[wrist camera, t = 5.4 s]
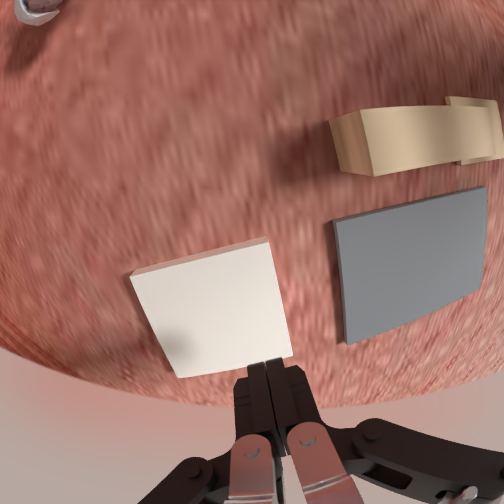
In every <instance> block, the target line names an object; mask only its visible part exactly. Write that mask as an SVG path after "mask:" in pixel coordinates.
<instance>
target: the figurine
mask: <svg viewBox="0 0 504 504" xmlns="http://www.w3.org/2000/svg"><path fill="white" fill-rule="evenodd" d="M63 1H64V0H15V14H16V17H17V19H18V21H20V22H23V23H26V24H29V25H34V26H39V25H42V24H44V23H46V22H48V21H49V20H51V19H52V18H54V17H55V16H56V15H57V14H58V13H59V12H60V10H59V9H58V8H56V7H58V6H59V5H60V4H61V3H62V2H63Z"/></svg>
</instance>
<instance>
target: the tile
mask: <svg viewBox="0 0 504 504" xmlns="http://www.w3.org/2000/svg"><path fill="white" fill-rule="evenodd" d="M130 280H131V282H132V284H133V287H134V289H135V292H136V294H137V296H138V299H139V301H140V303H141V305H142V308H143V310H144V312H145V314H146V316H147V318H148V321H149V323H150V325H151V327H152V329H153V331H154V333H155V335H156V337H157V339H158V341H159V343H160V345H161V347H162V349H163V351H164V353H165V355H166V357H167V358H168V360H169V362H170V364H171V366H172V368H173V370H174V371H175V373H176V375H177V377H178V378H184V377H191V376H198V375H204V374H210V373H216V372H222V371H227V370H232V369H237V368H242V367H247V365H249V364H254V363H258V362H262V361H264V363H265V361H266V360H270V359H274V358H278V357H282V358H286V357H290V356H293V353H292V348H291V343H290V338H289V333H288V328H287V324H286V319H285V314H284V309H283V305H282V300H281V295H280V291H279V286H278V282H277V277H276V272H275V268H274V263H273V259H272V254H271V250H270V245H269V241H268V239H267V237H266V236H264V237H260V238H256V239H252V240H248V241H244V242H240V243H236V244H232V245H228V246H224V247H220V248H216V249H212V250H209V251H205V252H201V253H197V254H193V255H189V256H185V257H181V258H177V259H174V260H170V261H166V262H162V263H158V264H154V265H151V266H147V267H143V268H139V269H135V270H134V272H133V273H132V274H131V276H130Z"/></svg>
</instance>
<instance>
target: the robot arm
mask: <svg viewBox="0 0 504 504" xmlns="http://www.w3.org/2000/svg"><path fill="white" fill-rule="evenodd" d="M265 363H266V366H265ZM265 363H264V361H262V362H258V363H254V364H249V365H247V371H248V377H245V378H240V379H237V382H236V384H235V386H234V388H233V393H234V407H235V408H234V412H235V428H236V440H235V443H234V444H233V446H232V448H231V449H230V450H229V451H228V452H227V453H225V454H223V455H221V456H219V457H216V458H213V459H211V460H208V461H207V460H205V459H204V458H200V457H190V458H187V459H185V460H183V461H182V462H181V463H180V464H179V465H178V466H177V467H176V468H175V469H174V470H173V471H172V472H171V473H170V474H169V475H168V476H167V477H166V478H165V479H164V480H162V481H161V482H160V483H159V484H158V485H157V486H156V487H155V488H154V489H153V490H152V491H151V492H150V493H149V494H148V495H146V496H145V497H144V498H143V499H142V500H141V501H140V502H139V503H138V504H286V500H285V488H284V478H283V467H282V462H281V457H284V456H286V452H285V449H286V451H287V454H288V455H291V456H292V459H293V462H294V465H295V468H296V471H297V474H298V477H299V480H300V483H301V486H302V489H303V492H304V495H305V498H306V501H307V504H364V502H363V499H362V497H361V495H360V493H359V491H358V489H357V487H356V485H355V483H354V481H353V479H352V477H351V476H350V474H353V475H355V476H357V477H359V478H361V479H364V480H366V481H368V482H370V483H373V484H375V485H377V486H380V487H383V488H385V489H388V490H390V491H393V492H395V493H398V494H401V495H404V496H407V497H410V498H413V499H416V500H419V501H422V502H426V503H429V504H499V503H500V501H501V498H502V496H503V495H504V453H503V452H497V451H491V450H486V449H481V448H477V447H472V446H468V445H464V444H460V443H456V442H452V441H448V440H444V439H440V438H437V437H434V436H430V435H427V434H424V433H420V432H417V431H414V430H411V429H408V428H405V427H402V426H399V425H396V424H394V423H391V422H388V421H385V420H382V419H378V418H372V419H367V420H365V421H363V422H361V423H359V424H358V425H357V426H356V427H355V428H344V429H338V428H333V427H330V426H328V425H326V424H325V423H324V422H323V421H322V420H321V418H320V415H319V412H318V409H317V406H316V403H315V401H314V398H313V395H312V392H311V389H310V386H309V383H308V380H307V378H306V375H305V372H304V371H303V370H302V369H301V368H300V367H299V366H297V365H295V366H291V367H287V368H285V367H284V363H283V360H282V357H278V358H274V359H270V360H266V361H265ZM266 368H267V369H266ZM284 446H285V448H284Z"/></svg>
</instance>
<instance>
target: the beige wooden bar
mask: <svg viewBox="0 0 504 504" xmlns="http://www.w3.org/2000/svg"><path fill="white" fill-rule="evenodd" d="M444 98H445V102H446V106H400V107H385V108H373V109H363V110H358V111H354V112H351V113H348V114H345V115H342V116H339V117H336V118H333V119H330V120H329V124H330V128H331V132H332V136H333V140H334V145H335V149H336V153H337V158H338V162H339V167H340V171H343V172H349V173H355V174H361V175H367V176H373V177H375V176H380V175H385V174H390V173H395V172H400V171H405V170H410V169H415V168H420V167H425V166H431V165H436V164H442V163H448V162H454V161H456V162H457V165H466V164H472V163H477V162H483V161H489V160H495V159H502V158H504V139H503V132H502V126H501V120H500V115H499V110H498V105H497V101H495V100H487V99H479V98H468V97H455V96H447V97H444Z"/></svg>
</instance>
